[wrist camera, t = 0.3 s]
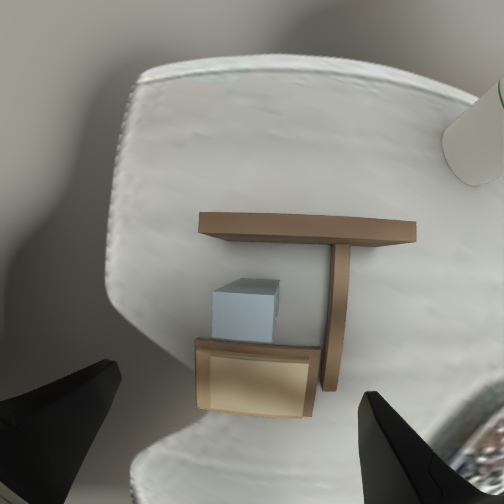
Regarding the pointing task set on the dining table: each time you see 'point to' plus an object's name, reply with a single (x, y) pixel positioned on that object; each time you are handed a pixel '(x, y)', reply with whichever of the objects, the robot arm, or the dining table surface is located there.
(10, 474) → the robot arm
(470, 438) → the dining table surface
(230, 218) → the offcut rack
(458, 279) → the dining table surface
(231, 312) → the slate slat
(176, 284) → the dining table surface
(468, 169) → the cylindrical container
